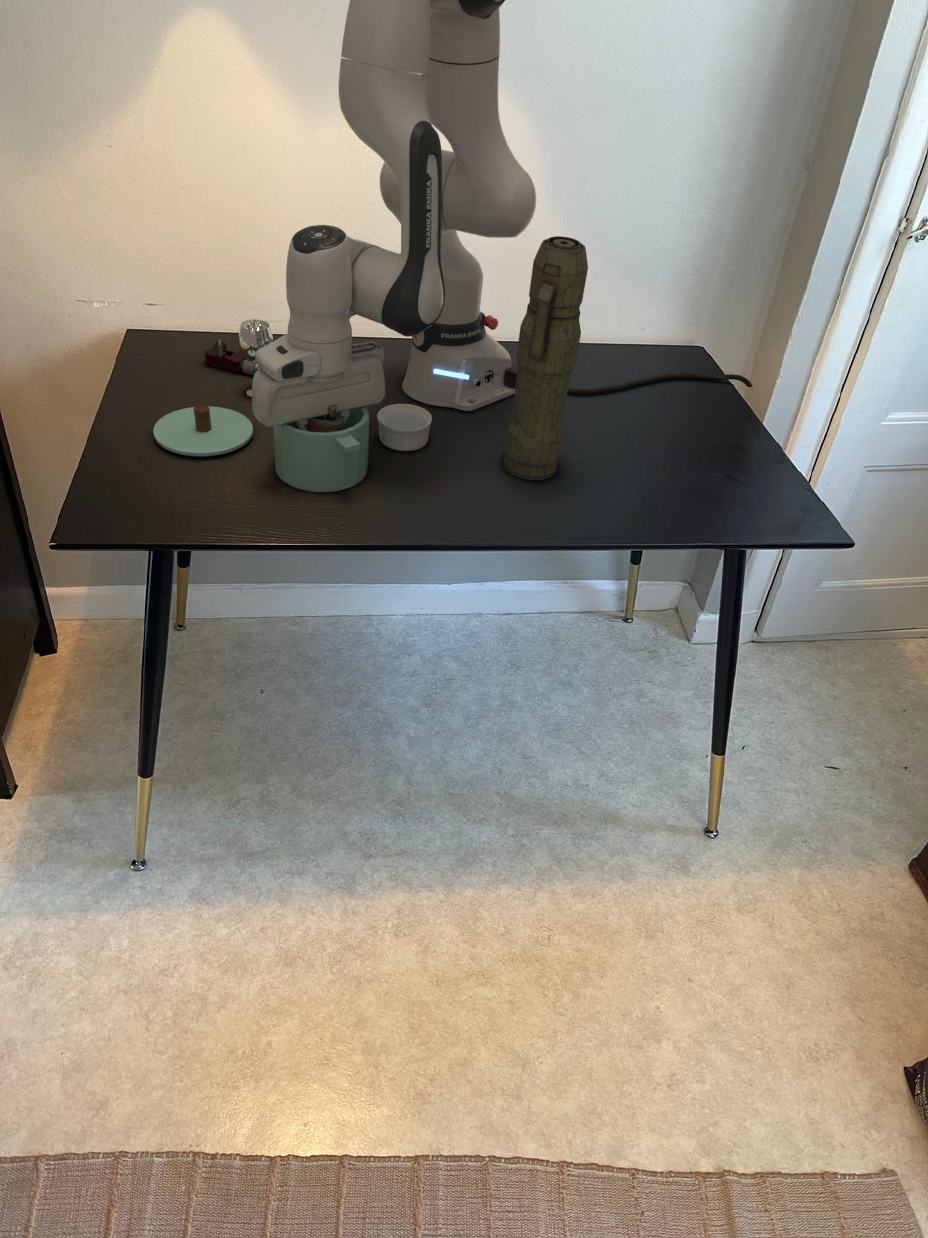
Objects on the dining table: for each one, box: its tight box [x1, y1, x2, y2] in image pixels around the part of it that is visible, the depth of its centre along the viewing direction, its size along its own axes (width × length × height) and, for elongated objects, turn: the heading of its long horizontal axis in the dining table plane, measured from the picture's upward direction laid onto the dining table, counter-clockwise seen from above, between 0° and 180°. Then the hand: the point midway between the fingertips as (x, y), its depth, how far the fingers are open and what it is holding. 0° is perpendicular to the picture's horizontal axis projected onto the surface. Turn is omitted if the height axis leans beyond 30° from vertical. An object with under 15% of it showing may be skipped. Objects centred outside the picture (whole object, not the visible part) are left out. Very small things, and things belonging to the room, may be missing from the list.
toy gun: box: [204, 338, 256, 377], centre depth 163 cm, size 10×12×5 cm
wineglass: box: [238, 319, 275, 398], centre depth 152 cm, size 6×6×12 cm
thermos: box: [502, 235, 589, 481], centre depth 134 cm, size 9×12×35 cm
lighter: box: [295, 405, 344, 433], centre depth 134 cm, size 8×3×10 cm, turn 67°
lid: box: [152, 404, 254, 457], centre depth 142 cm, size 15×15×5 cm
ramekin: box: [376, 403, 433, 452], centre depth 146 cm, size 9×9×4 cm
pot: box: [272, 406, 370, 493], centre depth 136 cm, size 14×19×10 cm
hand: (321, 438), depth 136 cm, fingers closed on lighter, 3 cm apart
